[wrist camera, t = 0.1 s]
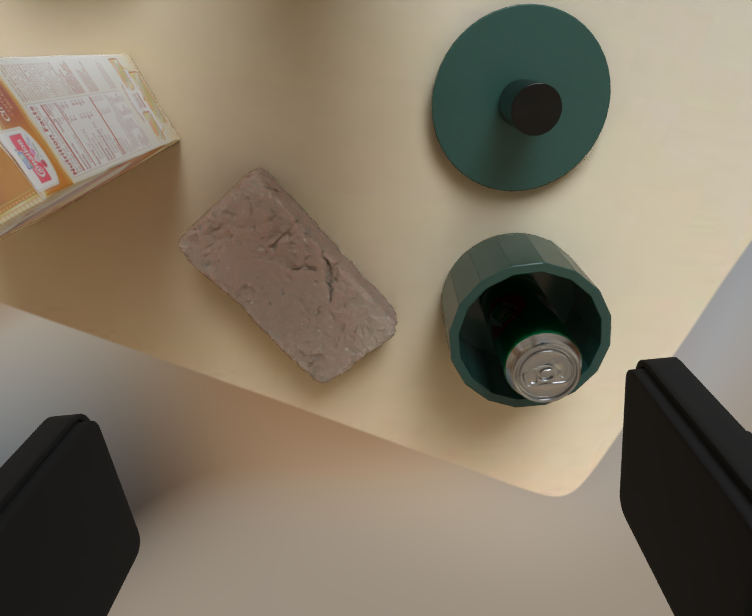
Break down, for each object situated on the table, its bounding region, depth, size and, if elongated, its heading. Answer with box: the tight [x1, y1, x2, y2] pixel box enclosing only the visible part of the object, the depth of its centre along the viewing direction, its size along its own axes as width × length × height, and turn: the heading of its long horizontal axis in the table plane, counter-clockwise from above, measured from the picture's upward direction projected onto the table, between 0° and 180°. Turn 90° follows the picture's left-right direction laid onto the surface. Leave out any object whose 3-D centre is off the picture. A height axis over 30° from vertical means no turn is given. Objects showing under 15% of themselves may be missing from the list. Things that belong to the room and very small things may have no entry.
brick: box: [179, 169, 397, 383], centre depth 46 cm, size 16×8×5 cm, turn 41°
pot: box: [441, 233, 611, 407], centre depth 46 cm, size 11×11×7 cm
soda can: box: [482, 275, 582, 403], centre depth 43 cm, size 5×5×12 cm
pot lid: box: [432, 4, 611, 191], centre depth 40 cm, size 12×12×6 cm
